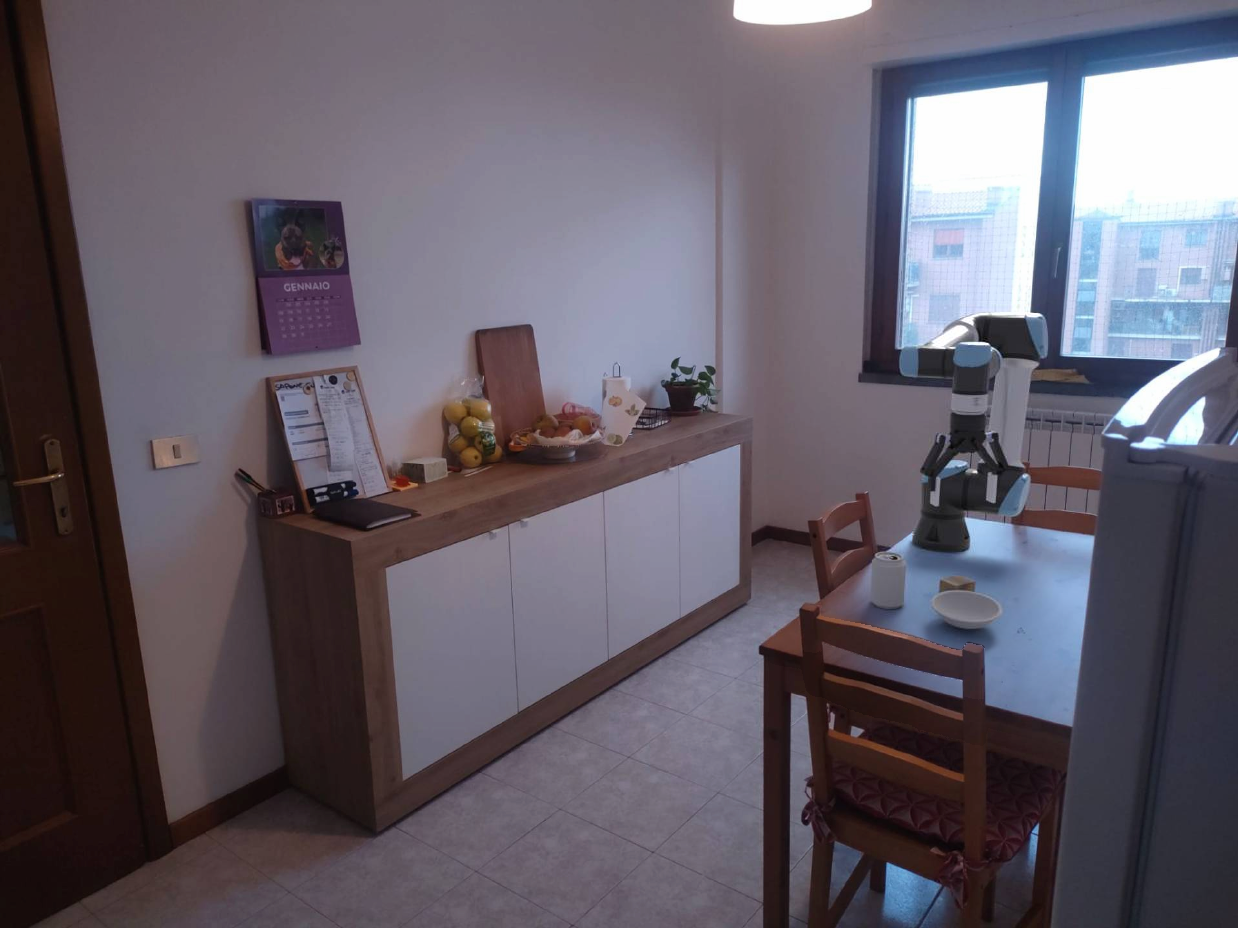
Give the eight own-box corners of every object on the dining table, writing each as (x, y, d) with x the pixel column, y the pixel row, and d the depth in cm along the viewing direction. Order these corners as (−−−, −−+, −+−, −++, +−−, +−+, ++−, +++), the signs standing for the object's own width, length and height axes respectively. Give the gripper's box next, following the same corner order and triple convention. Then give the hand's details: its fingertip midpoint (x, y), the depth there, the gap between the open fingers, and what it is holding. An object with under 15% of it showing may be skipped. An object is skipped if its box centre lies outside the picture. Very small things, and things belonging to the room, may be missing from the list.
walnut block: (958, 590, 207) (959, 574, 206) (974, 597, 202) (975, 581, 201) (938, 594, 204) (939, 578, 203) (954, 602, 200) (955, 585, 199)
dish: (1003, 647, 176) (1005, 625, 175) (929, 639, 181) (930, 617, 180) (998, 614, 192) (999, 593, 191) (929, 607, 197) (931, 587, 196)
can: (905, 611, 195) (908, 561, 192) (871, 609, 197) (873, 559, 194) (902, 598, 202) (904, 550, 199) (868, 597, 204) (870, 549, 201)
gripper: (923, 417, 188) (917, 510, 192) (1030, 412, 190) (1023, 504, 195) (908, 411, 195) (903, 501, 200) (1012, 406, 197) (1005, 495, 202)
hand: (962, 503), depth 197 cm, fingers open, 13 cm apart
